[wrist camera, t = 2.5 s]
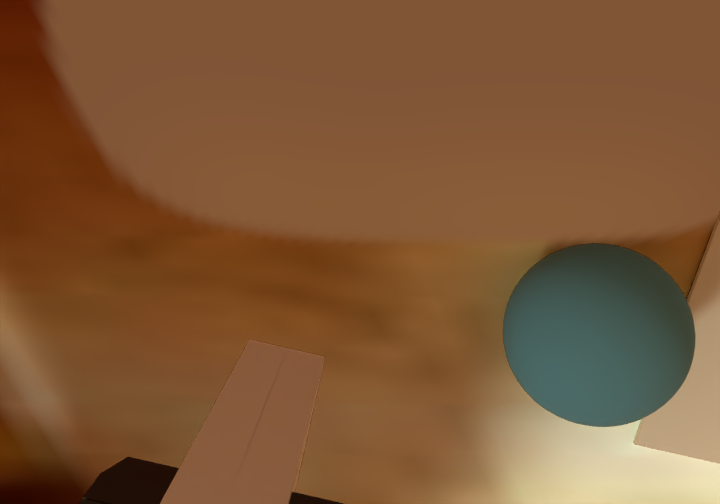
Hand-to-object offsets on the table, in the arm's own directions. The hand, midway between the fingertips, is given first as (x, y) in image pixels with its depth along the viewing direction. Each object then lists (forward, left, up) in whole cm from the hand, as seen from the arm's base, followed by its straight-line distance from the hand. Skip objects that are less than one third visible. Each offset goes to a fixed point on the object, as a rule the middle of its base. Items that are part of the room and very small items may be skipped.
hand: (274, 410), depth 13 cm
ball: (0, -9, -10) cm, 13 cm away
